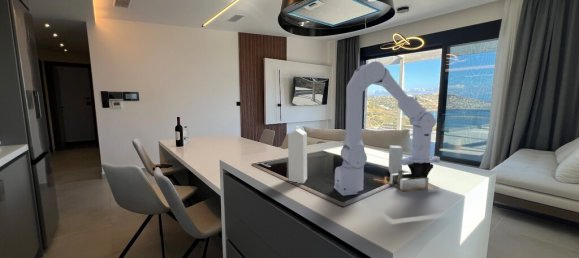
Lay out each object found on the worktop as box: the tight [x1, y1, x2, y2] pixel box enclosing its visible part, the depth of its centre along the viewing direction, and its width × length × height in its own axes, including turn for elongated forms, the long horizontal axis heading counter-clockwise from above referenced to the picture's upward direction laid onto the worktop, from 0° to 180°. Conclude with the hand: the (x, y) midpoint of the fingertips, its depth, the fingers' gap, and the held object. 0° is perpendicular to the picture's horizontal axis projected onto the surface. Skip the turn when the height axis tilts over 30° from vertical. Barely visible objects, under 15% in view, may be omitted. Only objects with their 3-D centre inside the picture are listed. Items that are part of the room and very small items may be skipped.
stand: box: [387, 169, 440, 193], centre depth 88 cm, size 14×9×7 cm, turn 102°
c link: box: [389, 171, 430, 192], centre depth 88 cm, size 10×7×4 cm
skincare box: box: [388, 144, 404, 175], centre depth 103 cm, size 6×4×12 cm
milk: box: [287, 124, 308, 184], centre depth 97 cm, size 6×6×22 cm
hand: (419, 183), depth 89 cm, fingers closed
